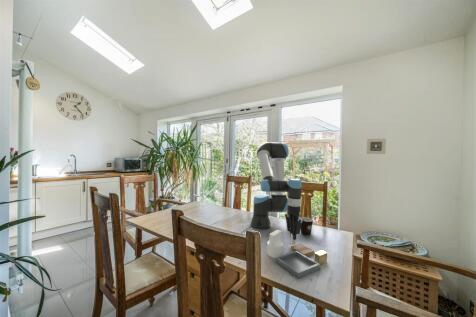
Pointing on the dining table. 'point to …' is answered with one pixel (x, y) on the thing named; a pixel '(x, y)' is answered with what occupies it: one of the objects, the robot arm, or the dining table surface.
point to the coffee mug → (306, 226)
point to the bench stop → (320, 257)
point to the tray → (297, 264)
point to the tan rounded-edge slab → (302, 250)
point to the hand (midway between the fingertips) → (292, 244)
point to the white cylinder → (275, 244)
